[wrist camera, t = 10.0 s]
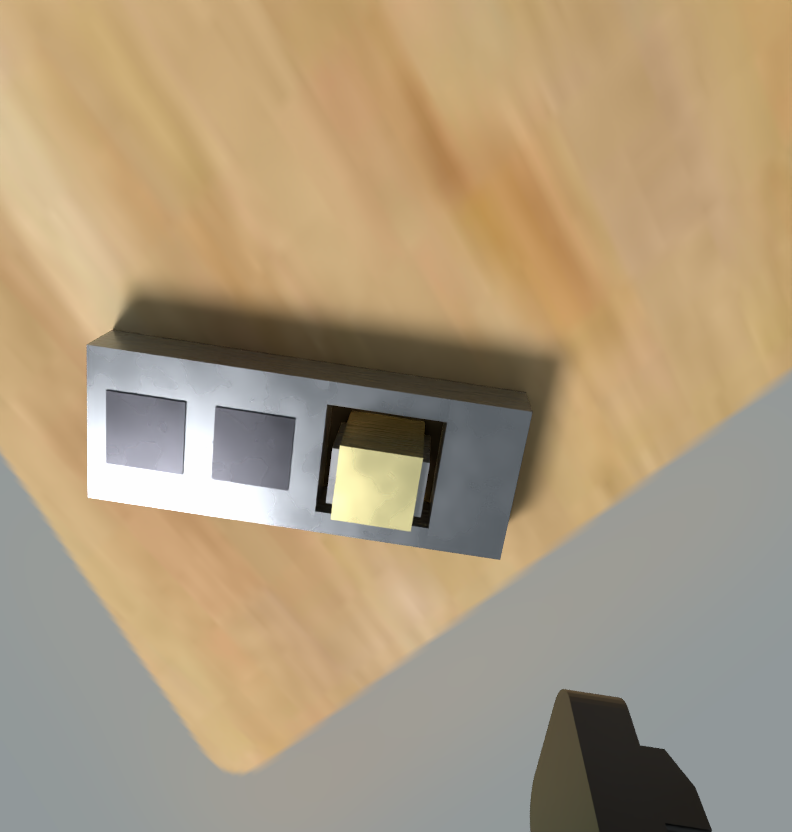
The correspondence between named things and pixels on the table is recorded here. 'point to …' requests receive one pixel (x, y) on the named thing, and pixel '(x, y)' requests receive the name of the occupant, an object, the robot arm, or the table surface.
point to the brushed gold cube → (379, 471)
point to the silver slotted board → (288, 439)
